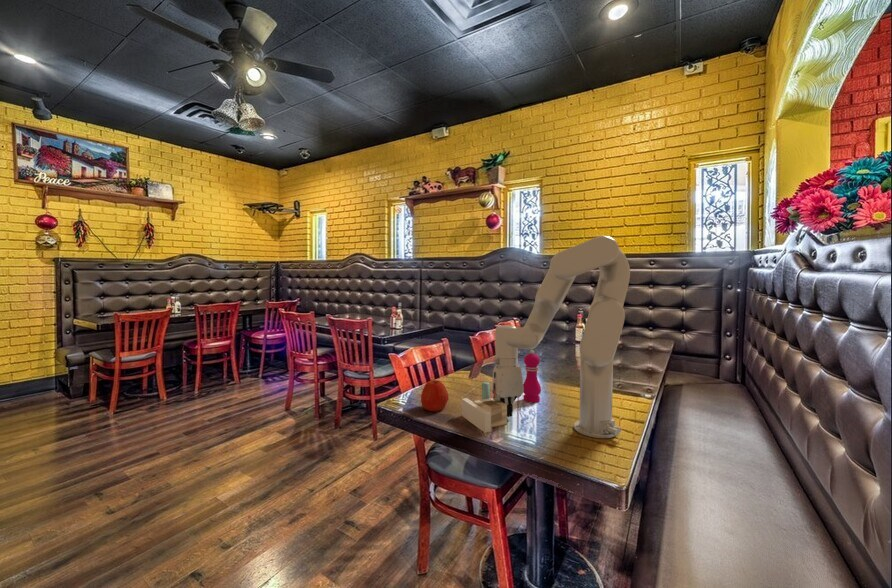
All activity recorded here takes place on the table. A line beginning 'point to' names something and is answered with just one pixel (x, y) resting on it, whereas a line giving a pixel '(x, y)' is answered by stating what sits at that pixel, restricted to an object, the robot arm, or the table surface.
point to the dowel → (485, 390)
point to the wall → (476, 415)
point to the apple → (434, 396)
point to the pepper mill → (531, 378)
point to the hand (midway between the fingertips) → (507, 415)
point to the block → (494, 410)
